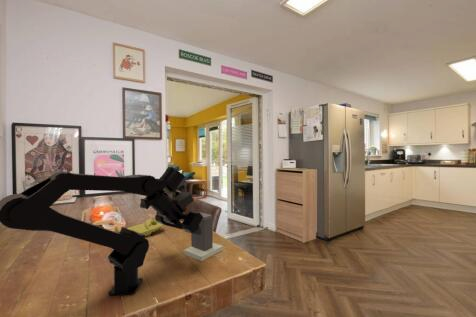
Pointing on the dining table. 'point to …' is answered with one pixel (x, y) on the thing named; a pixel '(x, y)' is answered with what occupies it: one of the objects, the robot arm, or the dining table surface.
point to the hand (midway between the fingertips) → (191, 230)
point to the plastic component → (145, 227)
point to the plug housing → (203, 234)
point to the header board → (202, 252)
